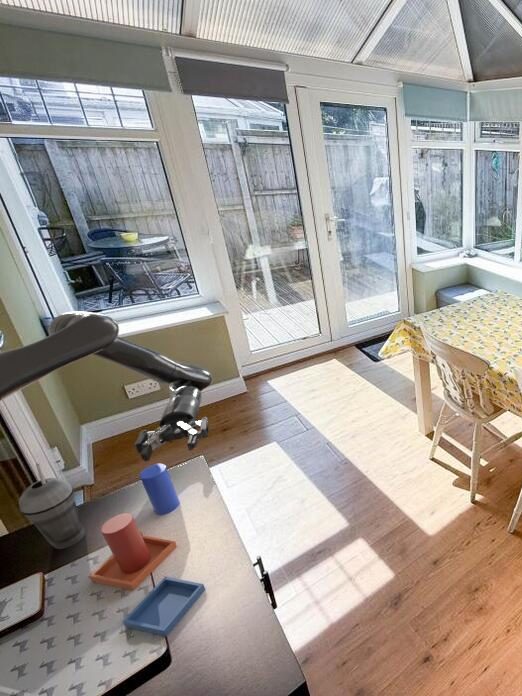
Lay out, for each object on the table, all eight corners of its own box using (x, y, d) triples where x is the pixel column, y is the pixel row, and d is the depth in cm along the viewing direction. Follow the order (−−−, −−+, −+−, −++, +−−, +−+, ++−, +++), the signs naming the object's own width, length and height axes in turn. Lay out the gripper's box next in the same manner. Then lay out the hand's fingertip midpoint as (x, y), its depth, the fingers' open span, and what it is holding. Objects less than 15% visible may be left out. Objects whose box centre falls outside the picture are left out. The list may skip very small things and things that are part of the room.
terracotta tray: (92, 583, 77) (88, 576, 76) (139, 540, 85) (136, 533, 84) (134, 592, 76) (131, 585, 75) (177, 548, 84) (174, 541, 83)
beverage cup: (56, 531, 86) (14, 457, 78) (101, 520, 89) (64, 448, 81) (36, 562, 80) (-12, 485, 72) (85, 549, 83) (44, 474, 75)
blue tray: (126, 629, 70) (122, 621, 69) (168, 583, 77) (165, 576, 77) (167, 638, 69) (163, 631, 68) (206, 591, 76) (203, 583, 76)
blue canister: (150, 514, 91) (134, 477, 86) (168, 498, 95) (153, 462, 90) (167, 517, 90) (152, 480, 86) (185, 501, 94) (171, 465, 90)
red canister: (115, 572, 78) (94, 531, 74) (137, 551, 82) (118, 511, 78) (135, 576, 78) (115, 535, 73) (156, 554, 82) (138, 515, 77)
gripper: (143, 409, 106) (124, 449, 93) (209, 396, 112) (200, 432, 99) (152, 432, 109) (135, 474, 96) (215, 418, 116) (208, 456, 102)
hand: (168, 452), depth 98 cm, fingers open, 8 cm apart
